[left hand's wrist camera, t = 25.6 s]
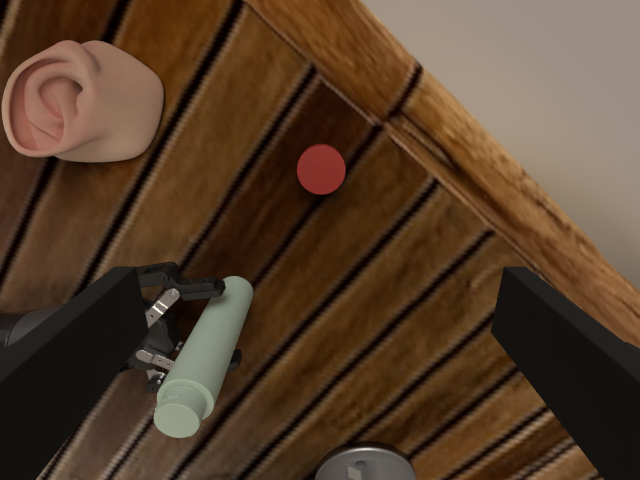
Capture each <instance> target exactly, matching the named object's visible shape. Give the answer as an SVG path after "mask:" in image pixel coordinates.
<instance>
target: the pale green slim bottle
mask: <svg viewBox="0 0 640 480" xmlns="http://www.w3.org/2000/svg"><path fill="white" fill-rule="evenodd" d="M223 281H224V282H225V286H226V289H225V291H224V293H223V294H222V295H221V296H220V297H216V298H211V299H210V301H209V303H208V304H207V306H206V308H205V310H204V312H203V313H202V315H201V317H200V319H199V320H198V322H197V324H196V326H195V327H194V329H193V331H192V333H191V334H190V336H189V338H188V340H187V341H186V343H185V345H184V347H183V348H182V350H181V352H180V354H179V356H178V357H177V359H176V361H175V363H174V364H173V366H172V368H171V370H170V371H169V373H168V375H167V377H166V378H165V380H164V382H163V384H162V385H161V387H160V389H159V391H158V394H157V402H158V405H157V407H156V409H155V414H154V423H155V425H156V427H157V428H158V429H159V430H160V431H161V432H163V433H164V434H166V435H168V436H171V437H177V438H183V437H188V436H189V437H190V436H192V435H193V434H195V432H196V431H197V430H198V428H199V426H200V423H201V421H202V420H203V419H205V418H207V417H208V416H209V415H210V414H211V412H212V411H213V409H214V406H215V403H216V400H217V397H218V394H219V392H220V389H221V386H222V383H223V380H224V377H225V375H226V372H227V369H228V366H229V363H230V360H231V358H232V355H233V352H234V349H235V346H236V343H237V341H238V338H239V335H240V332H241V329H242V326H243V324H244V321H245V318H246V315H247V312H248V310H249V307H250V304H251V301H252V298H253V288H252V286H251V285H250V283H249V282H248V281H247V280H245V279H244V278H241V277H238V276H230V277H227V278H225V279H223Z"/></svg>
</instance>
